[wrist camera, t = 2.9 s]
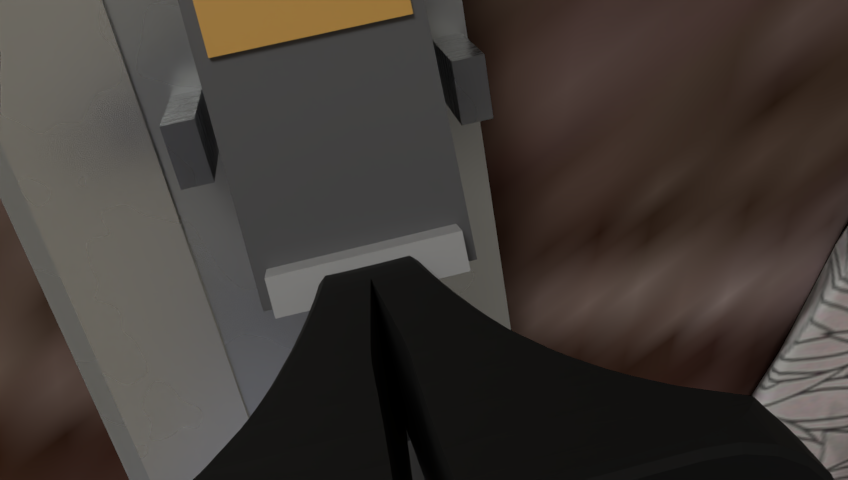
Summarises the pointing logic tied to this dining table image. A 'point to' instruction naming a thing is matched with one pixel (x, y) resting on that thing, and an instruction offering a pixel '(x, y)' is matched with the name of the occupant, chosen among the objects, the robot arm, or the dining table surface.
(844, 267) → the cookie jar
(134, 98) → the power strip
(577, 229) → the dining table surface
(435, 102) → the rocker
